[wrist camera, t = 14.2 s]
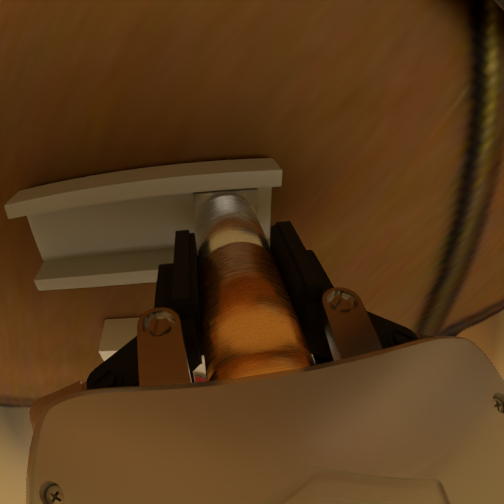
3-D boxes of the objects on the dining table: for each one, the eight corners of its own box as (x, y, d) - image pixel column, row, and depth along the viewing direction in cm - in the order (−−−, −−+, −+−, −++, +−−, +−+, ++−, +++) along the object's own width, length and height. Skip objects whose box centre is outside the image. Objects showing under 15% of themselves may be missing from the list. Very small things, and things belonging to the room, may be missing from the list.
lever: (198, 242, 16) (219, 456, 7) (193, 184, 14) (205, 412, 5) (252, 237, 17) (319, 439, 8) (253, 180, 15) (348, 387, 6)
